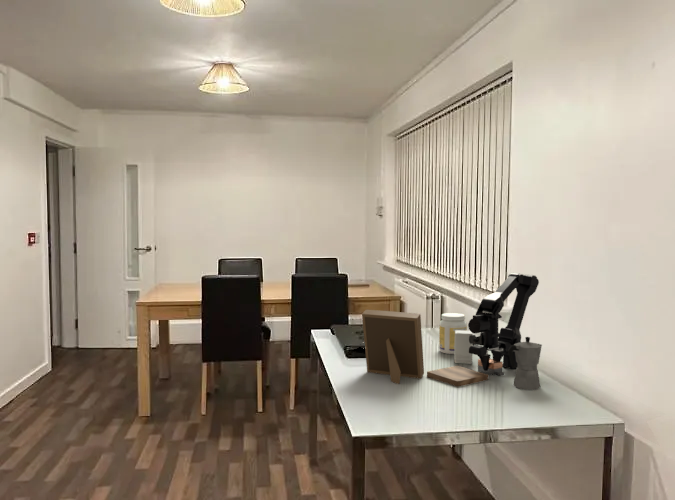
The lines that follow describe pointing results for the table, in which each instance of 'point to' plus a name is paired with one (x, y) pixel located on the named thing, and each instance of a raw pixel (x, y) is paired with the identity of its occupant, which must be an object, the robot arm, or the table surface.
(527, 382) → the coffeepot
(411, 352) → the photo frame
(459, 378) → the walnut stand
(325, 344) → the table surface
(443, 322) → the supplement tub
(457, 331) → the supplement box
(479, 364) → the block
